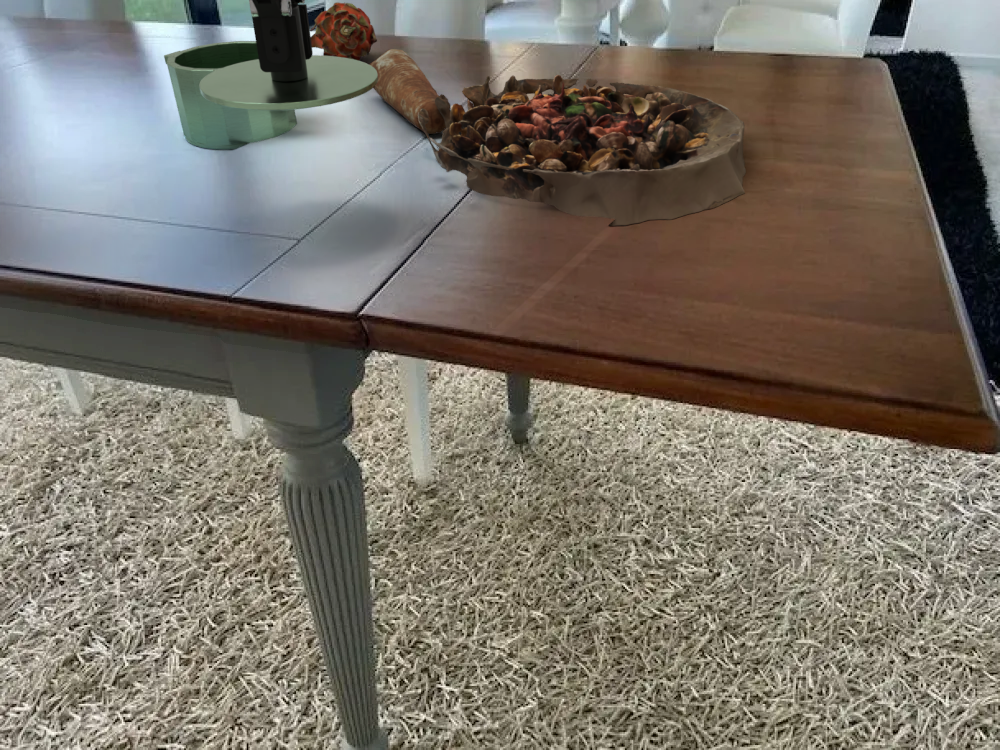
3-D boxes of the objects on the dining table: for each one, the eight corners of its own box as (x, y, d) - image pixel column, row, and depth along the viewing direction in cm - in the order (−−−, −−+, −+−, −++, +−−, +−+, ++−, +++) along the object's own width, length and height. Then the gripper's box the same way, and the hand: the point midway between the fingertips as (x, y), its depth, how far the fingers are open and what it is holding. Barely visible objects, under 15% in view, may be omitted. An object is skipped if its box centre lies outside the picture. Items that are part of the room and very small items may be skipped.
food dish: (387, 136, 99) (381, 66, 94) (640, 103, 108) (644, 39, 104) (494, 250, 71) (491, 158, 67) (821, 193, 80) (837, 109, 76)
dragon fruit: (366, 81, 120) (327, 77, 129) (401, 35, 121) (360, 34, 130) (323, 36, 114) (286, 34, 123) (361, -12, 115) (321, -10, 124)
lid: (299, 129, 60) (286, 35, 56) (163, 101, 66) (143, 14, 62) (412, 81, 69) (407, -2, 66) (285, 60, 75) (274, -17, 72)
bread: (415, 90, 110) (412, 45, 107) (458, 136, 95) (456, 85, 92) (367, 96, 109) (363, 50, 106) (403, 143, 94) (399, 92, 91)
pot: (261, 160, 91) (245, 79, 86) (145, 135, 98) (125, 59, 94) (337, 125, 99) (326, 50, 95) (225, 105, 107) (210, 34, 102)
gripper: (223, -222, 63) (264, 40, 73) (145, -225, 49) (209, 96, 60) (324, -223, 63) (351, 39, 73) (275, -227, 49) (316, 95, 60)
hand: (287, 62), depth 66 cm, fingers closed on lid, 2 cm apart
